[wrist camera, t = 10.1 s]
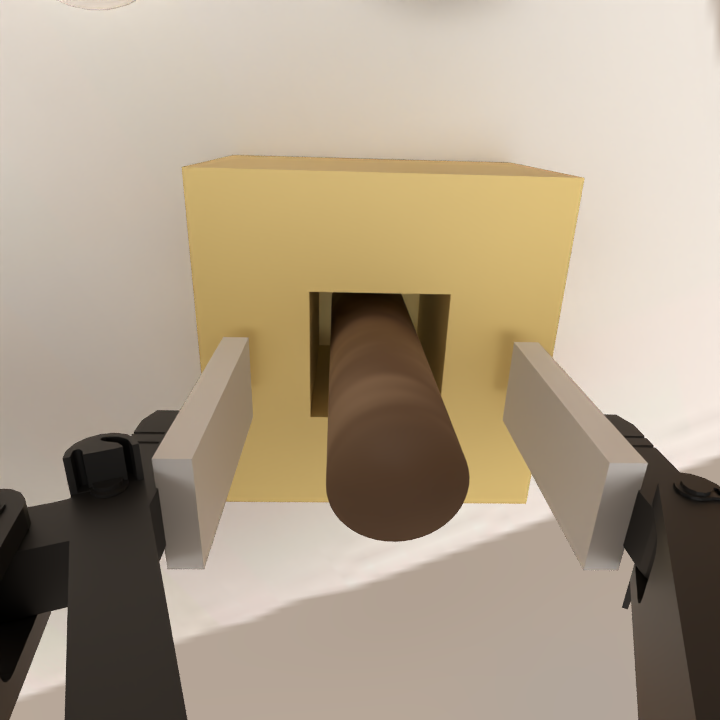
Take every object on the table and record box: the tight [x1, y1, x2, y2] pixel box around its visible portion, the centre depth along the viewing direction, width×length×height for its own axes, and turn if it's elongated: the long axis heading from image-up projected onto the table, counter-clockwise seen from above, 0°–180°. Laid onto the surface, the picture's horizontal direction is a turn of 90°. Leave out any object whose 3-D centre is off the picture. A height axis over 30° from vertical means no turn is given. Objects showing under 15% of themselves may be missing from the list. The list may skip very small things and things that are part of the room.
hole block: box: [182, 155, 584, 504], centre depth 22 cm, size 12×12×8 cm
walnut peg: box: [326, 292, 470, 542], centre depth 19 cm, size 3×3×14 cm
